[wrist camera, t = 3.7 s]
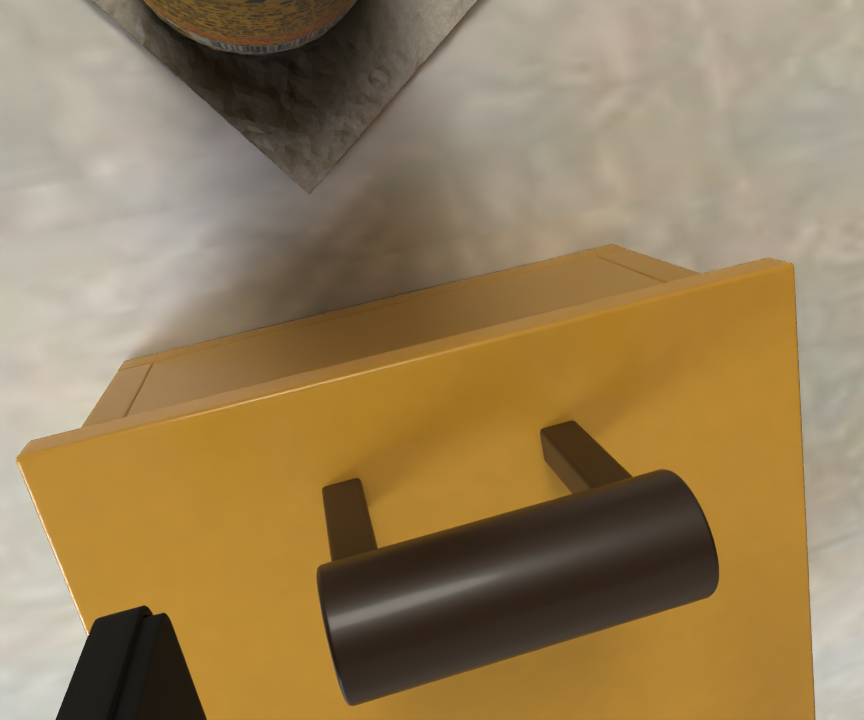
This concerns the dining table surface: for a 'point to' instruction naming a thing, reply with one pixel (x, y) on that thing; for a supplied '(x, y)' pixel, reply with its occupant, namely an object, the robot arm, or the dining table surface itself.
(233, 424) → the lid
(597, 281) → the open wooden box
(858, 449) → the dining table surface
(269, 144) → the condiment
